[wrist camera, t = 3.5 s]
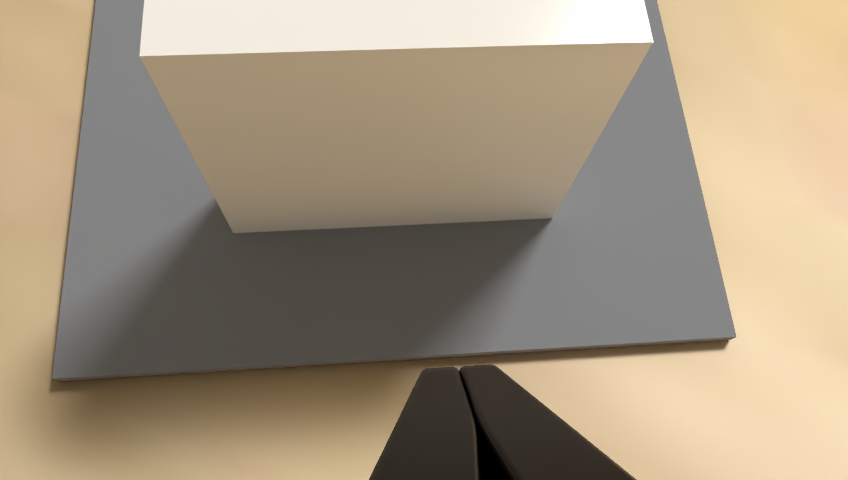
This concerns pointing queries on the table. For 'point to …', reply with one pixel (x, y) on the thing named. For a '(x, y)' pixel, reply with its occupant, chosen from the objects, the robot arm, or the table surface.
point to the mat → (371, 250)
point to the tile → (390, 103)
